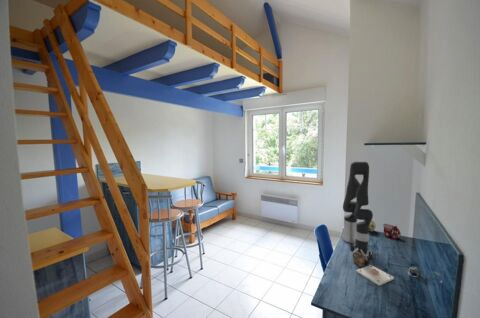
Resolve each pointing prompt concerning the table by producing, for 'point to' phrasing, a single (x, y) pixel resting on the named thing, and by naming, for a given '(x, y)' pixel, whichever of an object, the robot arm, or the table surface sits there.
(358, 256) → the walnut cap block
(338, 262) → the table surface
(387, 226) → the toy fire truck
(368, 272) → the base plate
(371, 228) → the beige lumpy ball
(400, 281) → the table surface
